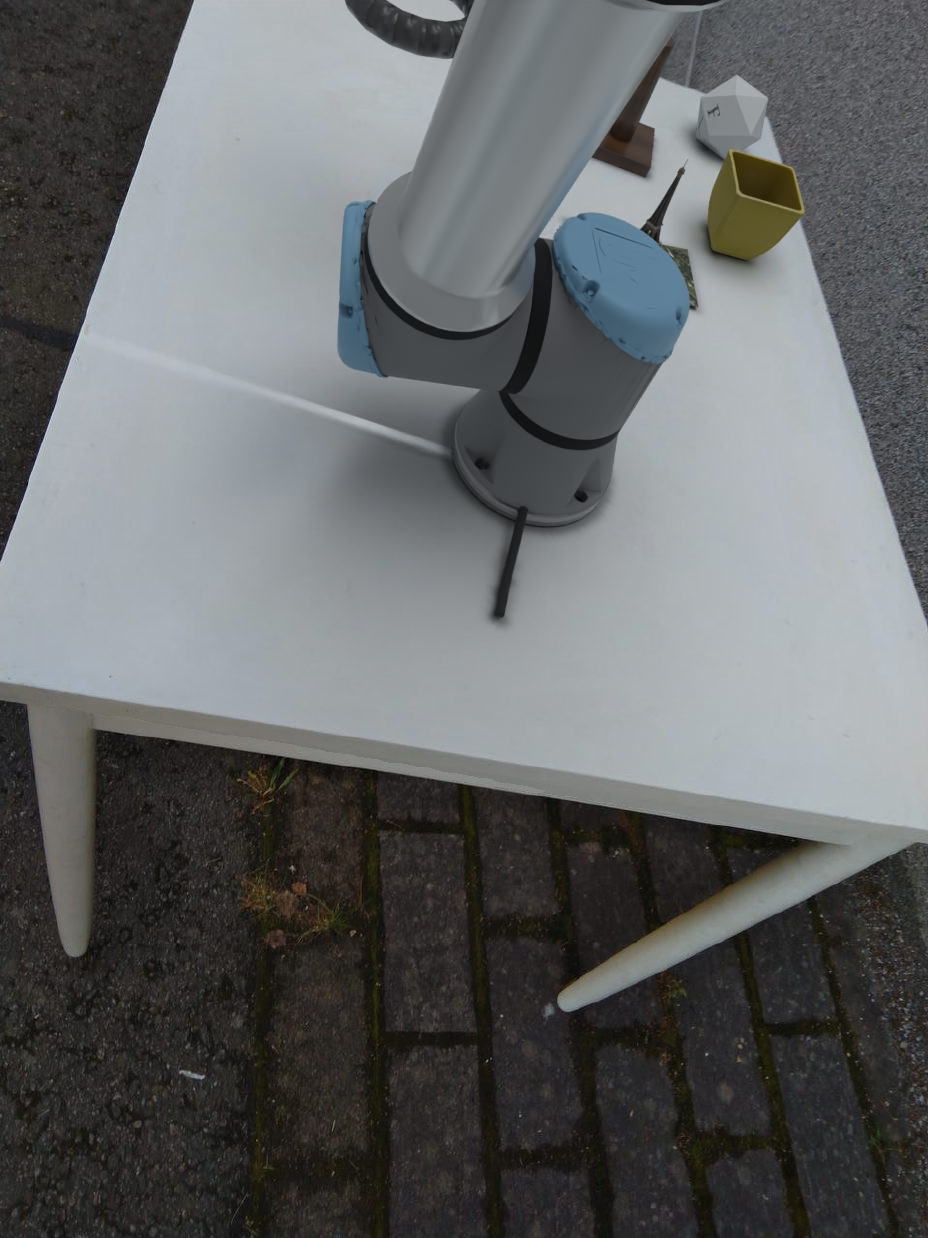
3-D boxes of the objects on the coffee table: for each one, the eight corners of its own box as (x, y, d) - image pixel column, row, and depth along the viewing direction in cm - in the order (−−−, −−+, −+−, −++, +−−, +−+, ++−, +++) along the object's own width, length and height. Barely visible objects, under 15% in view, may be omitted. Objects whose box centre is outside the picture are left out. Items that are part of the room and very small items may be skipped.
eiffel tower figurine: (574, 282, 100) (625, 174, 89) (568, 223, 105) (614, 113, 94) (696, 309, 103) (759, 209, 92) (684, 251, 108) (743, 149, 97)
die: (687, 120, 125) (693, 74, 115) (753, 101, 124) (764, 53, 114) (700, 177, 125) (707, 136, 115) (766, 159, 123) (779, 115, 113)
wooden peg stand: (645, 177, 114) (697, 71, 103) (579, 151, 113) (624, 42, 102) (650, 138, 119) (699, 33, 108) (586, 114, 118) (630, 5, 106)
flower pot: (763, 276, 110) (806, 213, 103) (699, 258, 108) (738, 193, 101) (753, 230, 115) (794, 166, 107) (691, 212, 113) (728, 146, 105)
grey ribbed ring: (479, 84, 74) (488, 53, 72) (323, 27, 72) (327, -7, 70) (499, 6, 81) (508, -25, 79) (357, -49, 79) (362, -82, 77)
